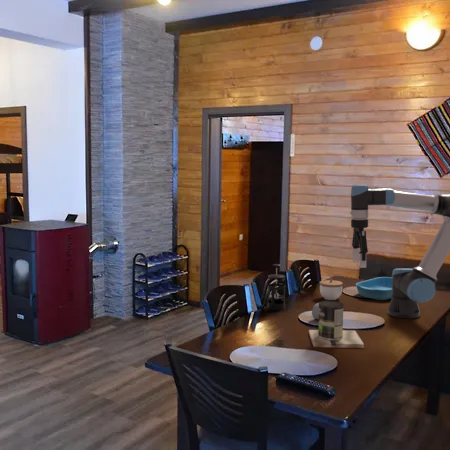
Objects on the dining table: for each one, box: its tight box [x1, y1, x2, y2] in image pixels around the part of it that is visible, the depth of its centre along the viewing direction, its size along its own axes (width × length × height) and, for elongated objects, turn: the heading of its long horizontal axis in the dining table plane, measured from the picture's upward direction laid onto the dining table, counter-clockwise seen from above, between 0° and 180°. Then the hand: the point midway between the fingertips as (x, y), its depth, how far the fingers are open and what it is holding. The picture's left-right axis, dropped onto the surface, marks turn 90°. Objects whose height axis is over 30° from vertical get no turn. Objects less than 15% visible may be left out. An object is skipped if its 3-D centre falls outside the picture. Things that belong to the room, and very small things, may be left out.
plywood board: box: [308, 329, 365, 349], centre depth 219 cm, size 20×18×2 cm
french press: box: [266, 263, 286, 311], centre depth 270 cm, size 12×9×23 cm
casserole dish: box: [355, 276, 392, 301], centre depth 300 cm, size 37×22×7 cm, turn 132°
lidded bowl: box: [319, 278, 343, 301], centre depth 290 cm, size 13×13×11 cm
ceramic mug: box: [311, 302, 319, 320], centre depth 249 cm, size 11×8×8 cm
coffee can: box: [317, 300, 345, 340], centre depth 218 cm, size 10×10×14 cm
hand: (359, 265), depth 239 cm, fingers open, 13 cm apart
